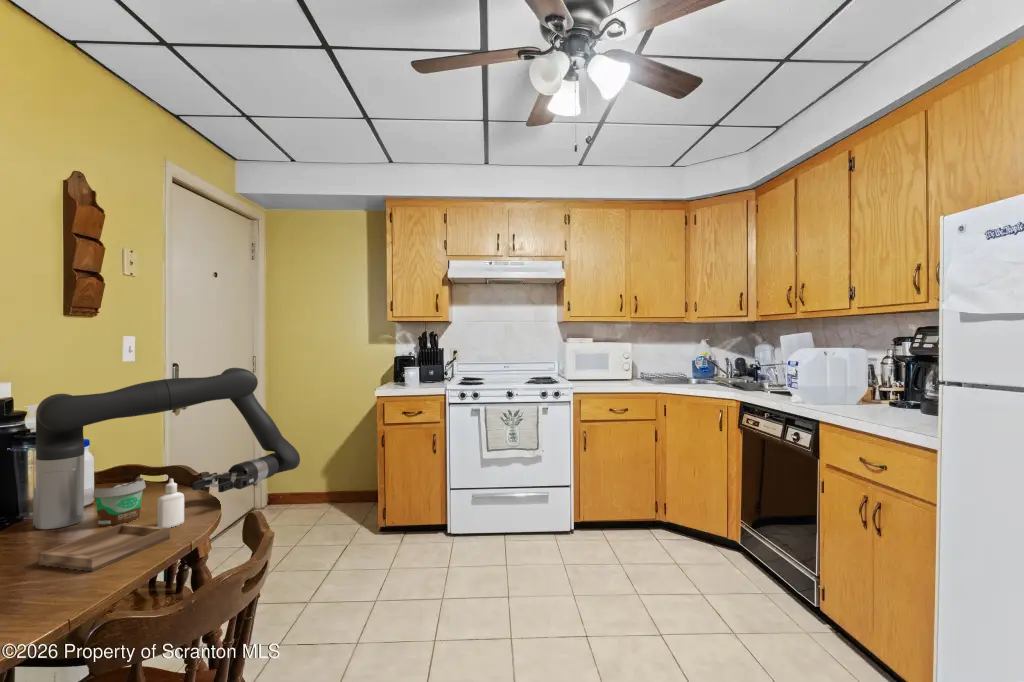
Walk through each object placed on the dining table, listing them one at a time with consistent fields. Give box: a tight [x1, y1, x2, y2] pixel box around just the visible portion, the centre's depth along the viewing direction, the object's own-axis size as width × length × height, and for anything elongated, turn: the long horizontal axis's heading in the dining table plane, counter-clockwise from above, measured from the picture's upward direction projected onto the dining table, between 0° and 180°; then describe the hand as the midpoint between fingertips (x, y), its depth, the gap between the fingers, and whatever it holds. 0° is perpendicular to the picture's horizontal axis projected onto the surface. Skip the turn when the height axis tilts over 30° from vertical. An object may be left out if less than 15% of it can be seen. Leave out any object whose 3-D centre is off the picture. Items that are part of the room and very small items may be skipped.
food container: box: [92, 476, 147, 528], centre depth 131 cm, size 12×6×10 cm, turn 168°
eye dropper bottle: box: [156, 478, 185, 529], centre depth 128 cm, size 4×6×12 cm
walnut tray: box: [38, 523, 171, 573], centre depth 112 cm, size 14×18×2 cm
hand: (206, 487), depth 139 cm, fingers open, 8 cm apart
